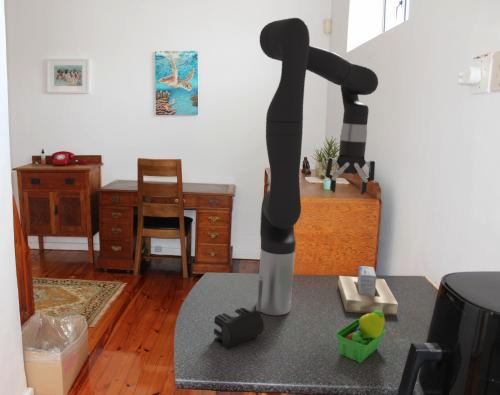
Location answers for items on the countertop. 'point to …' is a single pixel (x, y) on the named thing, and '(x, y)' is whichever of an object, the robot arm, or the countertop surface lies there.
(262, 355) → the countertop surface
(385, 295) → the thick beige rectangular frame
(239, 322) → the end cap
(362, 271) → the medicine box
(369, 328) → the fruit basket
